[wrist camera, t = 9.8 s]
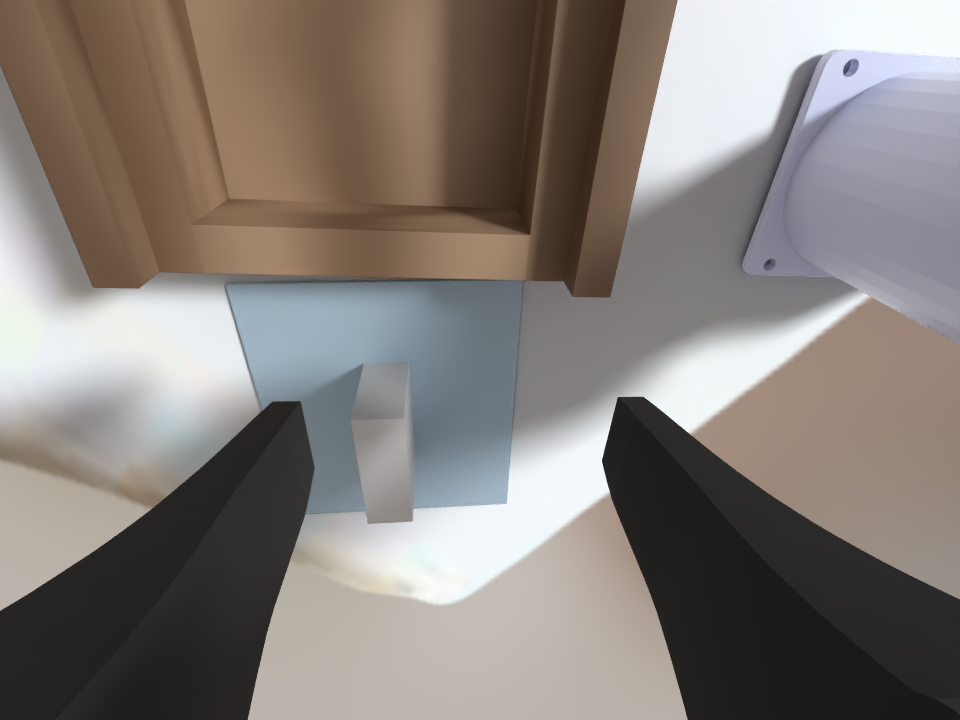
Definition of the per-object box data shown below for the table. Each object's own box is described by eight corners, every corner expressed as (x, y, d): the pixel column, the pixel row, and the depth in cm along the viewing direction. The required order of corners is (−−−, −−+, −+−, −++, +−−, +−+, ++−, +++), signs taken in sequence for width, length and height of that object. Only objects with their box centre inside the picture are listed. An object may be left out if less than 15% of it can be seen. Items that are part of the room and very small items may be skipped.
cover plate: (520, 273, 20) (541, 326, 16) (504, 492, 28) (516, 566, 24) (232, 276, 19) (179, 334, 15) (296, 503, 27) (271, 582, 23)
